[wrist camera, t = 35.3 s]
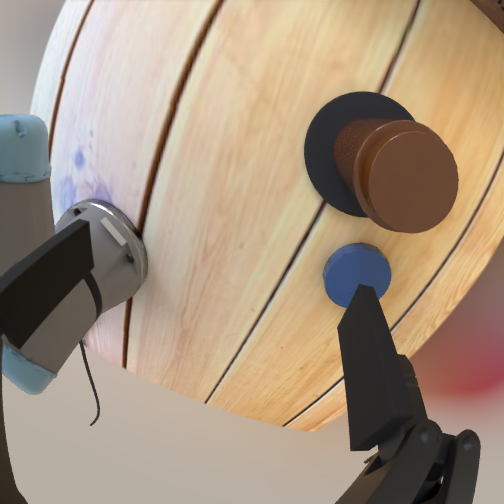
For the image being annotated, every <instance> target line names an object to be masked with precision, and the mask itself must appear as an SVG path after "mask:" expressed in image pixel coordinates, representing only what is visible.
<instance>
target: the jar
mask: <svg viewBox="0 0 504 504" xmlns="http://www.w3.org/2000/svg"><path fill="white" fill-rule="evenodd" d="M333 161H334V165H335V168H336V170H337V172H338V174H339V176H340V177H341V179H342V180H343V181H344V183H345V184H346V186H347V187H348V188H349V190H350V191H351V193H352V194H353V196H354V197H355V198H356V200H357V201H358V203H359V204H360V206H361V207H362V209H363V210H364V212H365V213H366V214H367V215H368V217H369V218H370V219H371V220H372V221H373V222H375V223H376V224H378V225H379V226H381V227H383V228H385V229H388V230H390V231H395V232H404V233H420V232H424V231H427V230H429V229H431V228H433V227H435V226H436V225H438V224H439V223H440V222H441V221H442V220H443V219H444V218H445V217H446V216H447V215H448V213H449V212H450V210H451V208H452V206H453V204H454V202H455V199H456V196H457V191H458V181H459V179H458V172H457V165H456V162H455V160H454V157H453V154H452V153H451V151H450V150H449V148H448V147H447V145H446V144H444V142H443V141H442V139H441V138H440V137H439V136H438V135H437V134H436V133H435V132H434V131H433V130H431V129H430V128H428V127H427V126H425V125H423V124H420V123H418V122H414V121H409V120H398V119H384V118H359V119H356V120H354V121H351V122H350V123H348V124H347V125H346V126H344V127H343V128H342V129H341V131H340V132H339V134H338V135H337V137H336V139H335V142H334V146H333Z"/></svg>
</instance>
